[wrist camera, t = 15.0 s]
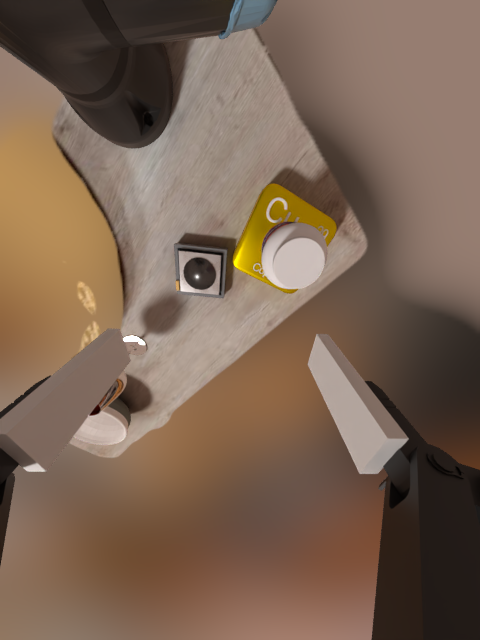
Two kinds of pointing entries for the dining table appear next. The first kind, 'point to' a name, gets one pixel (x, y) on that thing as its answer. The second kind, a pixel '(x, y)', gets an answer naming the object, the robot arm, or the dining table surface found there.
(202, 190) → the dining table surface
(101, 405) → the wineglass
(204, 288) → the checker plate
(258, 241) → the element tile
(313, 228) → the pill bottle
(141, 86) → the robot arm
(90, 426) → the bowl
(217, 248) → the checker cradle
